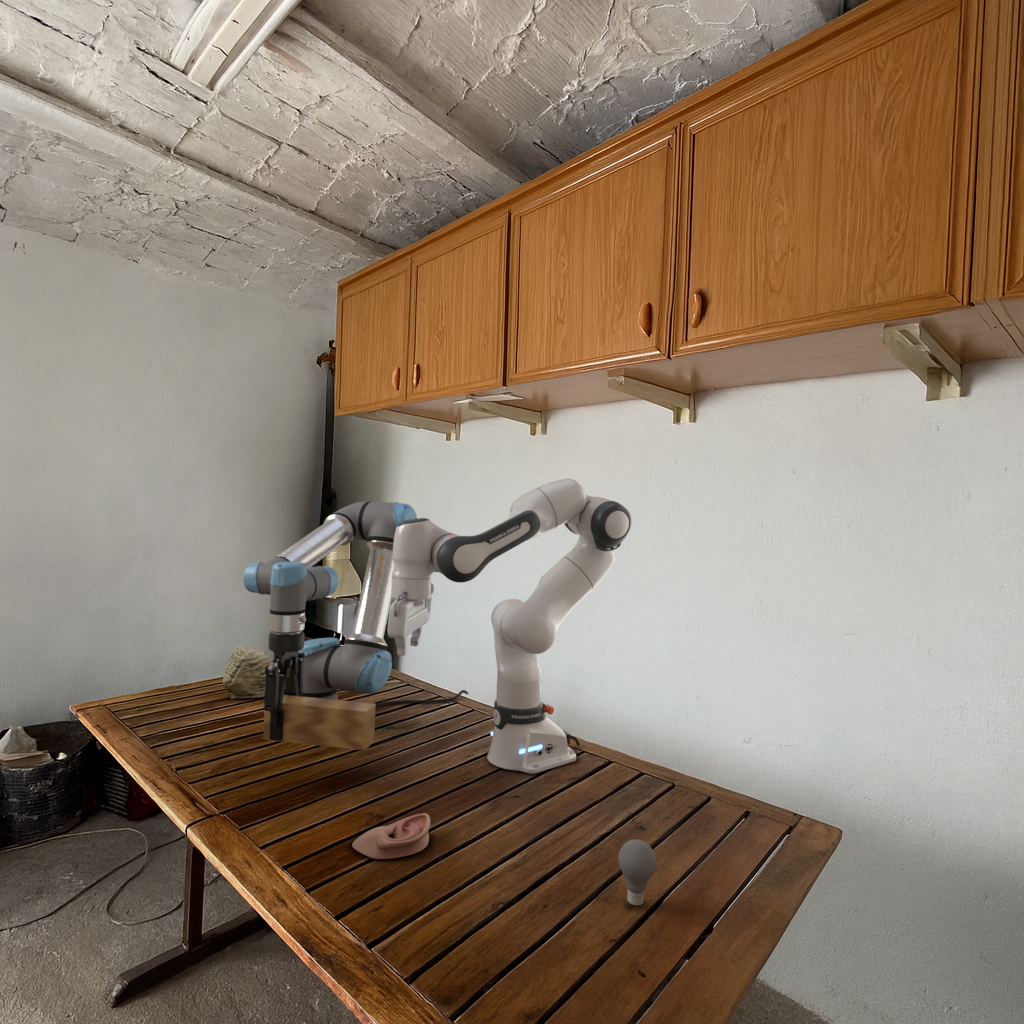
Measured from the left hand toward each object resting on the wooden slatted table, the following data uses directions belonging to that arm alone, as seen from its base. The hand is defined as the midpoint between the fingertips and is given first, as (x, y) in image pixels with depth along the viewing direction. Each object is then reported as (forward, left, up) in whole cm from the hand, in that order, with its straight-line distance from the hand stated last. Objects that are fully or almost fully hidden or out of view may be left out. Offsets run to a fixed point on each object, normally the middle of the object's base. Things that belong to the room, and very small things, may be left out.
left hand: (283, 734), depth 142 cm
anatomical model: (+1, +39, -10) cm, 40 cm away
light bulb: (-14, +81, -10) cm, 82 cm away
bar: (-4, +7, 0) cm, 9 cm away
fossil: (-26, -58, -10) cm, 64 cm away
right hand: (-19, +19, +20) cm, 33 cm away
